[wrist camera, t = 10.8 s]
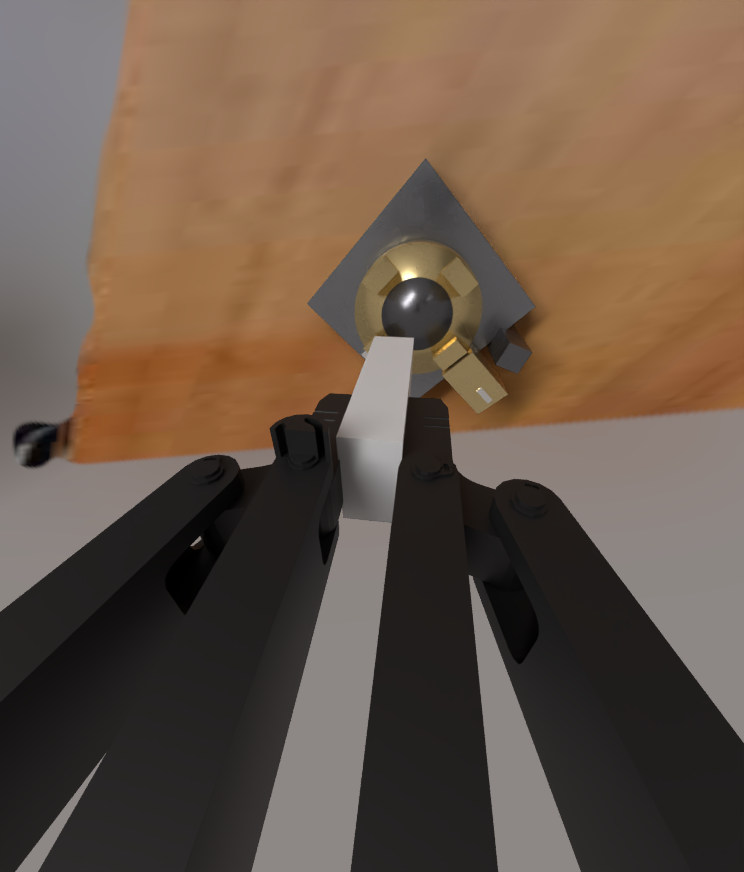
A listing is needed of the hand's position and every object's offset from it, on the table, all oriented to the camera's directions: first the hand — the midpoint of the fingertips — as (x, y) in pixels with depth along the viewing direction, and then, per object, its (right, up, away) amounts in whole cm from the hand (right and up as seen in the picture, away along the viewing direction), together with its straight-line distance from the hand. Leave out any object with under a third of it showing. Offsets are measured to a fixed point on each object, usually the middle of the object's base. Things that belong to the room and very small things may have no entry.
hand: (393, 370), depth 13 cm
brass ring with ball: (+5, +7, +16) cm, 19 cm away
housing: (+4, +10, +19) cm, 21 cm away
